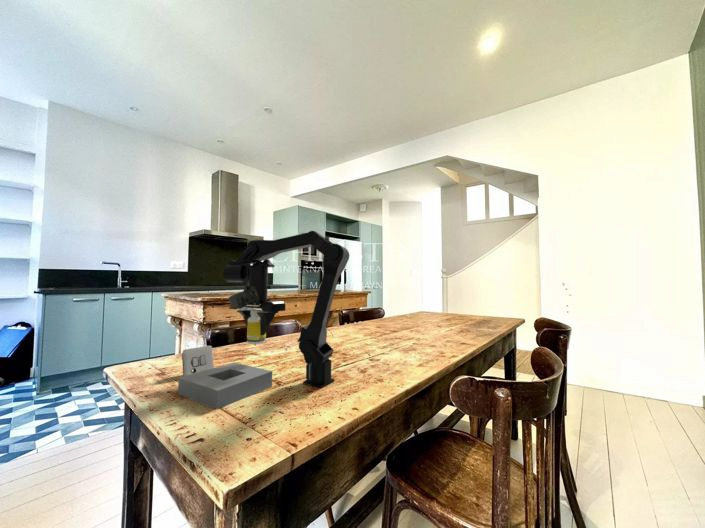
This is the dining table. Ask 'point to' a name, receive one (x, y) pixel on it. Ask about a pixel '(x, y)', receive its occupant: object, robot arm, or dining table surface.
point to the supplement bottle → (254, 328)
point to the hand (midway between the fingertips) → (256, 334)
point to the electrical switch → (197, 360)
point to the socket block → (224, 384)
